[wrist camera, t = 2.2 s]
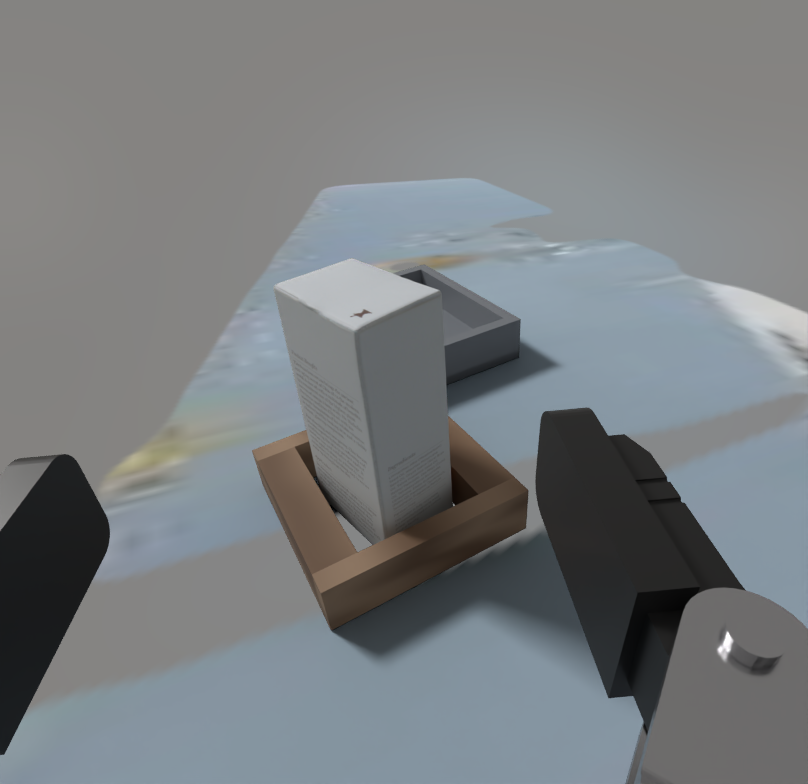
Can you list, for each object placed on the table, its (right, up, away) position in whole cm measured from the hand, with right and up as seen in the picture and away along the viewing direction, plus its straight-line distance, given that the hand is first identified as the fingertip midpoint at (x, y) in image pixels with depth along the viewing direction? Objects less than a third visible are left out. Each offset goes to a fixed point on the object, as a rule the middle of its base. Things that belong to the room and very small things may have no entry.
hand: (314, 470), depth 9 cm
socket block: (+1, -4, +18) cm, 18 cm away
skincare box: (+1, -5, +18) cm, 19 cm away
